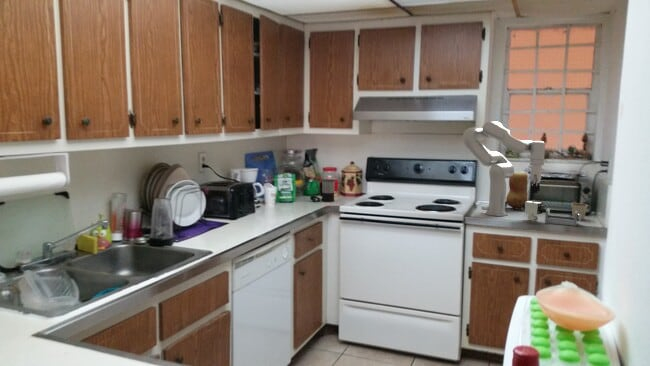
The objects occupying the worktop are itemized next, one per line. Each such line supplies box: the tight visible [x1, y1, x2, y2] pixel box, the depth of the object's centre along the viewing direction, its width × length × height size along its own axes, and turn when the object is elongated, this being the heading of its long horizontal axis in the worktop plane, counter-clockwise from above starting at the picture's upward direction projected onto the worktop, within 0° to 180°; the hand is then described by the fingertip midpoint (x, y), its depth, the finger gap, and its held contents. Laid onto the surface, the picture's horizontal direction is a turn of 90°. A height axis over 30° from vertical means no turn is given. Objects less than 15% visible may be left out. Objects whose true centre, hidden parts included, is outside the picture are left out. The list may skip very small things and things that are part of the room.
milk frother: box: [309, 178, 336, 203], centre depth 357 cm, size 14×16×15 cm
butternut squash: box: [505, 170, 529, 210], centre depth 336 cm, size 14×13×25 cm
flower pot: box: [570, 202, 589, 220], centre depth 308 cm, size 9×9×9 cm
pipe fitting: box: [544, 207, 582, 227], centre depth 294 cm, size 18×10×7 cm, turn 61°
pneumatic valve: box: [521, 199, 546, 222], centre depth 300 cm, size 6×12×12 cm, turn 39°
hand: (535, 191), depth 298 cm, fingers open, 9 cm apart
